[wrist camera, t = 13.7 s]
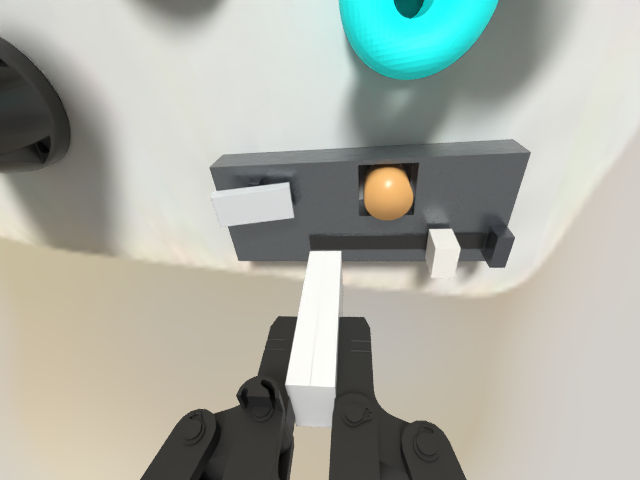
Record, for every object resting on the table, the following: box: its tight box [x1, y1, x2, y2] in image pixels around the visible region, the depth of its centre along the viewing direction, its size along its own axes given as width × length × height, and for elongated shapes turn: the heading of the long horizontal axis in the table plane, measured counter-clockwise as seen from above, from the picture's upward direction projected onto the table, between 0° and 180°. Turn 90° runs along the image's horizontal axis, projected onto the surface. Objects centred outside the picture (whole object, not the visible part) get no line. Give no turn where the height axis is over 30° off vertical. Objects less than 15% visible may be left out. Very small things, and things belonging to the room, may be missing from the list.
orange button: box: [364, 163, 413, 220], centre depth 32 cm, size 5×5×5 cm
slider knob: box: [425, 229, 461, 278], centre depth 33 cm, size 2×4×4 cm, turn 5°
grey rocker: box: [211, 182, 294, 227], centre depth 32 cm, size 8×4×2 cm, turn 95°
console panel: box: [209, 139, 531, 268], centre depth 34 cm, size 32×13×6 cm, turn 95°
